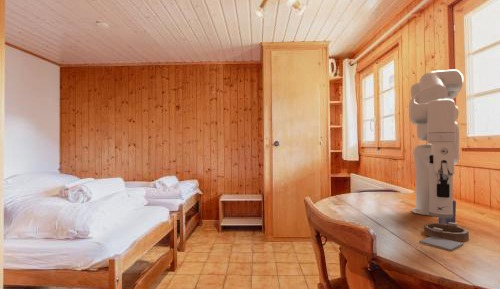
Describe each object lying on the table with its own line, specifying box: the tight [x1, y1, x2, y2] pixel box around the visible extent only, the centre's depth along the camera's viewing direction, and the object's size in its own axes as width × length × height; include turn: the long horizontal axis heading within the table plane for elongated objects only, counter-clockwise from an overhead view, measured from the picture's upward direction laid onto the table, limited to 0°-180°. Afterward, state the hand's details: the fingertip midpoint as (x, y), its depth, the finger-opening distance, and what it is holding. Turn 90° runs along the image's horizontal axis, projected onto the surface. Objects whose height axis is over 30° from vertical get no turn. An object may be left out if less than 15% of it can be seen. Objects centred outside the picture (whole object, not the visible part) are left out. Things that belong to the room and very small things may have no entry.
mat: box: [418, 236, 464, 252], centre depth 92 cm, size 9×9×1 cm
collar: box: [423, 222, 470, 242], centre depth 100 cm, size 14×12×3 cm
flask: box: [438, 199, 457, 224], centre depth 113 cm, size 10×3×12 cm, turn 121°
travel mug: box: [429, 155, 454, 219], centre depth 92 cm, size 6×7×20 cm
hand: (441, 194), depth 92 cm, fingers closed on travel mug, 6 cm apart
